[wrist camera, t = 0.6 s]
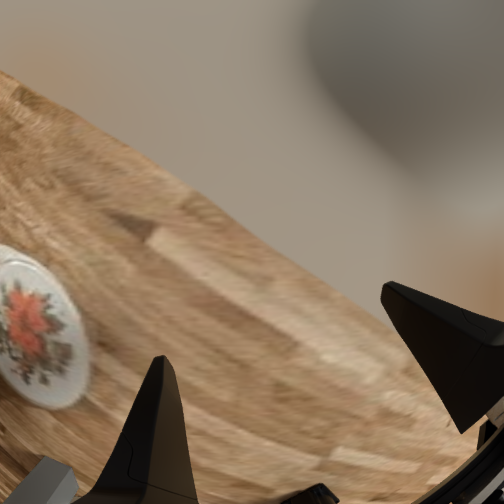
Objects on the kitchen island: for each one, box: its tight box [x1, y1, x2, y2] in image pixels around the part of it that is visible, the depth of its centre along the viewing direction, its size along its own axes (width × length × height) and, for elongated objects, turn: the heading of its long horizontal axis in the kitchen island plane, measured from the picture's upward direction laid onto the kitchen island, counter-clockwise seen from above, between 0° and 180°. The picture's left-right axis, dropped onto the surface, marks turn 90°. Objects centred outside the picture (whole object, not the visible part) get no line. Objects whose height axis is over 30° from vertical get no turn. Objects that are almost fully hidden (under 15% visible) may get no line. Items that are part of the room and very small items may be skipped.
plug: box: [2, 456, 79, 504], centre depth 12 cm, size 4×4×15 cm
